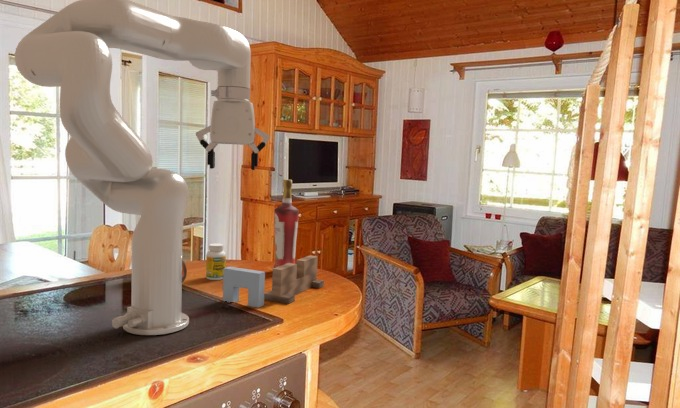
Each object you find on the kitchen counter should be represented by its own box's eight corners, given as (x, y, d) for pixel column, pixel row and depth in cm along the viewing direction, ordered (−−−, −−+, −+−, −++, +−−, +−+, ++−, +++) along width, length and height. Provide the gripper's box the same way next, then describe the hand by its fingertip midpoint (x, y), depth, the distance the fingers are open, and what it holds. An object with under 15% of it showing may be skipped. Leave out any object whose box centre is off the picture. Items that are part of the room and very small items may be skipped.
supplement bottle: (219, 275, 147) (220, 242, 146) (229, 278, 143) (229, 245, 142) (202, 277, 143) (202, 243, 142) (212, 281, 139) (212, 246, 139)
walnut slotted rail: (288, 304, 122) (289, 271, 121) (263, 299, 124) (264, 267, 124) (324, 285, 140) (325, 257, 139) (301, 282, 143) (302, 254, 142)
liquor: (269, 269, 157) (272, 178, 154) (291, 268, 160) (295, 179, 157) (276, 274, 150) (279, 180, 148) (300, 273, 153) (303, 180, 151)
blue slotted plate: (264, 305, 120) (265, 271, 119) (258, 307, 118) (259, 273, 117) (228, 298, 124) (229, 266, 123) (222, 301, 122) (223, 268, 121)
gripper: (193, 92, 115) (192, 168, 117) (270, 96, 117) (268, 171, 119) (199, 96, 123) (198, 167, 125) (271, 99, 124) (269, 169, 126)
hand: (232, 169), depth 122 cm, fingers open, 9 cm apart
